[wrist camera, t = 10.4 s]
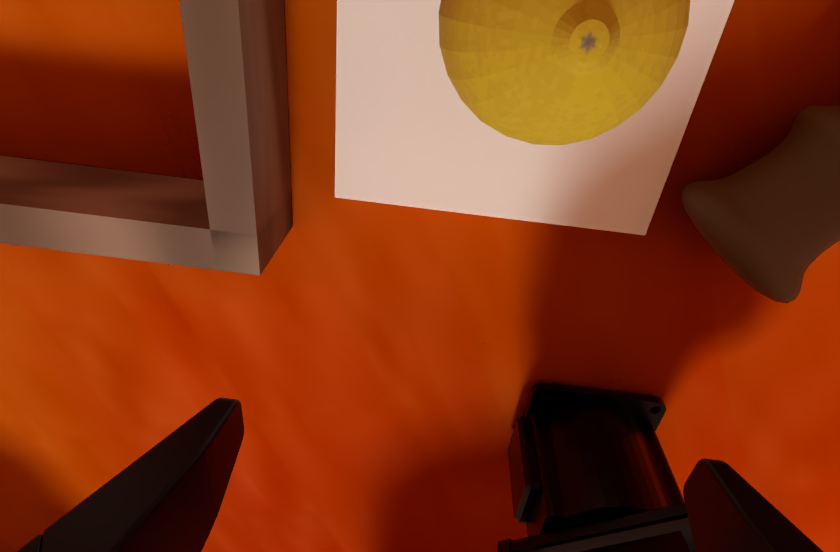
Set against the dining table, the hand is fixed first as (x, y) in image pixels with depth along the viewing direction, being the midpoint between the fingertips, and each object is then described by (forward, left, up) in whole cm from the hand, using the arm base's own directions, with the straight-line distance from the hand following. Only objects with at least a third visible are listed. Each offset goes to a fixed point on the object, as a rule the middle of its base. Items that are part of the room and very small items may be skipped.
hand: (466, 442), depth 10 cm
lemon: (-1, -7, -11) cm, 13 cm away
